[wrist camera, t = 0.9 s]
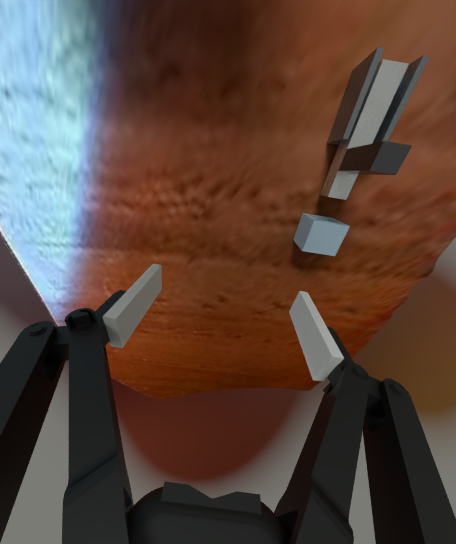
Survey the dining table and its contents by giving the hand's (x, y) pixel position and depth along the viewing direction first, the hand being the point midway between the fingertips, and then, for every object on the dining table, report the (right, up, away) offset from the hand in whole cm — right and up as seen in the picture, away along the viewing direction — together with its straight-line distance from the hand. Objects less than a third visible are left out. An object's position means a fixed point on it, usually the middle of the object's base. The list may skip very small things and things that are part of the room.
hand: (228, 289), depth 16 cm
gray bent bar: (+21, +24, +13) cm, 34 cm away
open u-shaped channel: (+21, +28, +12) cm, 37 cm away
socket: (+19, +11, +22) cm, 31 cm away
